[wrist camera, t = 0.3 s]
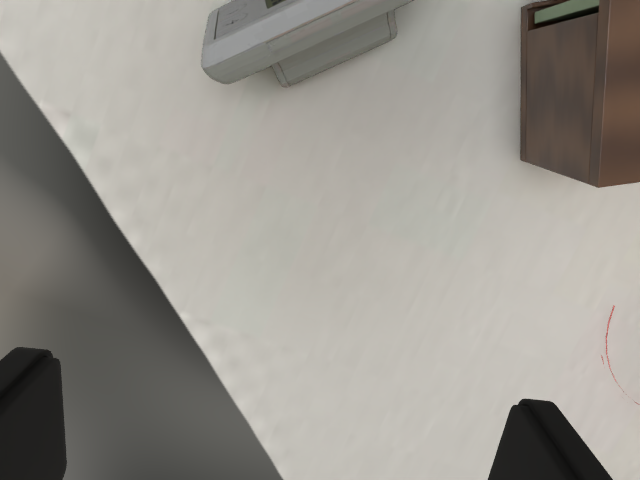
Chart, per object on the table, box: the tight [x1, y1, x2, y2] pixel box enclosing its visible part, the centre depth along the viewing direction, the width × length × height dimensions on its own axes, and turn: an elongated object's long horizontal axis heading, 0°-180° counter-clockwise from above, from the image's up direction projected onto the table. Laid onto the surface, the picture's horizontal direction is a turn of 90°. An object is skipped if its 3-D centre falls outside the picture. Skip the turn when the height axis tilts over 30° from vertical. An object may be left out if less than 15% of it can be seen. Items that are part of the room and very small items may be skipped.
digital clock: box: [201, 0, 413, 87], centre depth 29 cm, size 16×9×11 cm, turn 101°
